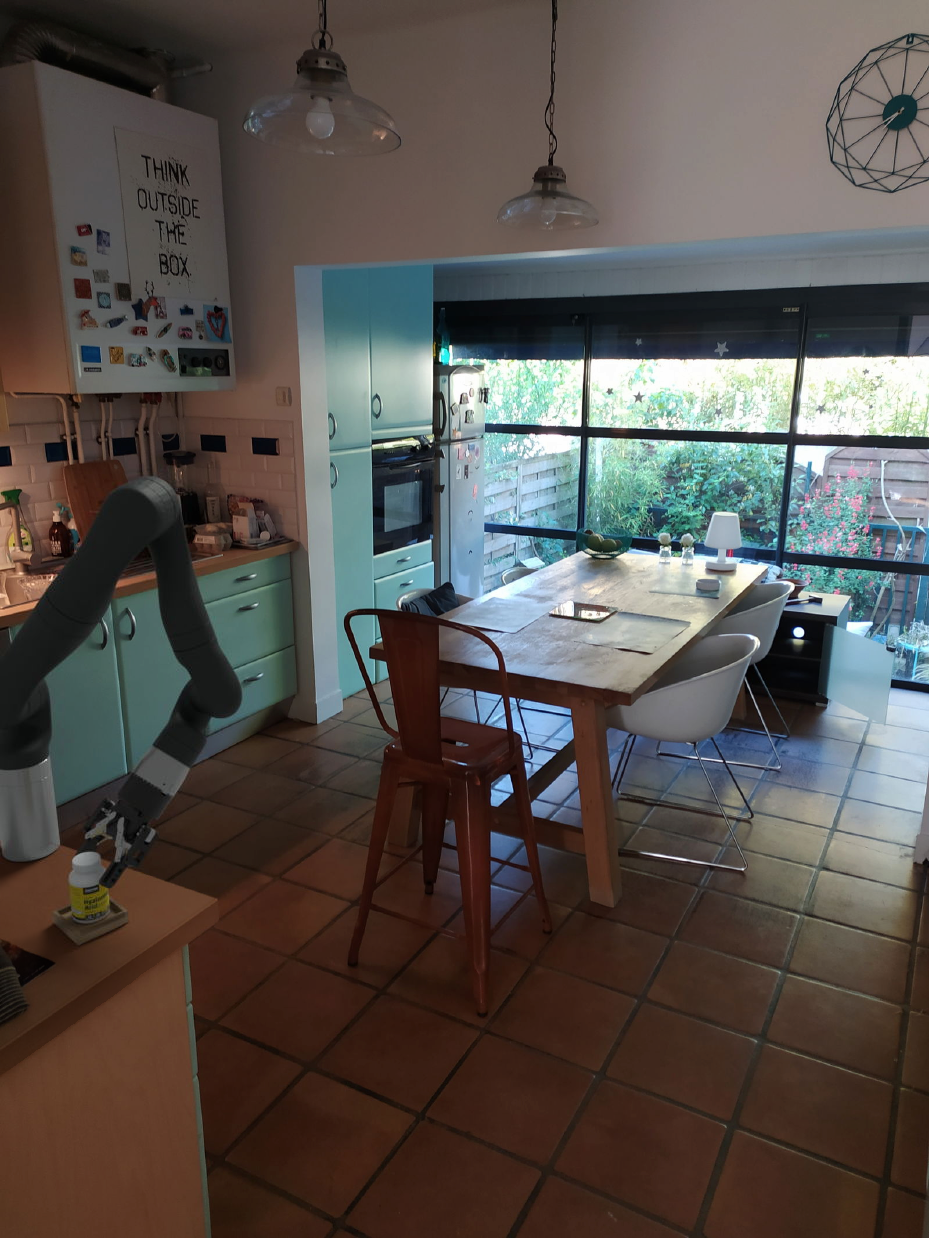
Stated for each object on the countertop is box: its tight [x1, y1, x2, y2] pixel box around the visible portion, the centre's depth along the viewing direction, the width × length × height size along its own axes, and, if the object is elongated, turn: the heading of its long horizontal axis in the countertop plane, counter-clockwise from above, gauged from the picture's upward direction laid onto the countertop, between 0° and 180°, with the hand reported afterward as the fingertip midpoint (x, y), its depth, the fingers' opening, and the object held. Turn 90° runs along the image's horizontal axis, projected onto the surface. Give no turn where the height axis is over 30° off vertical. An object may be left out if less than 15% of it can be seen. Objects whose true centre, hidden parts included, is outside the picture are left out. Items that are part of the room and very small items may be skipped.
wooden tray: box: [52, 895, 130, 946], centre depth 140 cm, size 8×8×2 cm
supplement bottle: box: [68, 851, 110, 924], centre depth 139 cm, size 5×5×10 cm
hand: (90, 875), depth 138 cm, fingers open, 8 cm apart
